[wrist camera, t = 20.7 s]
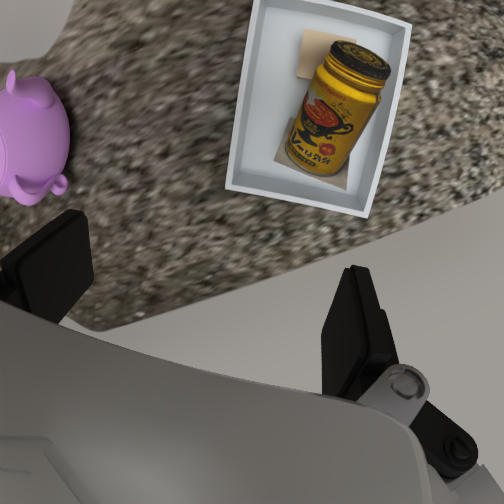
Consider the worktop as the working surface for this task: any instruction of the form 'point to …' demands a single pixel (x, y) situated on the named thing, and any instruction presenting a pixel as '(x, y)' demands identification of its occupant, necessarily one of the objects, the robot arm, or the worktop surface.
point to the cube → (315, 51)
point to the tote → (291, 97)
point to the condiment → (334, 113)
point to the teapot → (32, 140)
